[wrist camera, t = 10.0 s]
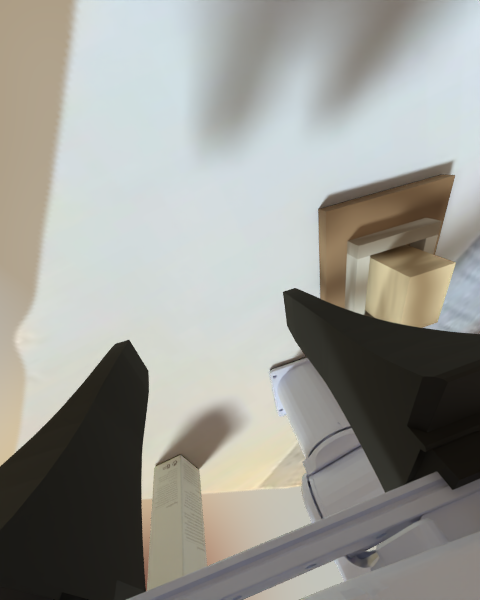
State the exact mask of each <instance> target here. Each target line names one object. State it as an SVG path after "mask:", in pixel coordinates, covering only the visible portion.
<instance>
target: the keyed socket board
mask: <svg viewBox="0 0 480 600" xmlns="http://www.w3.org/2000/svg"><path fill="white" fill-rule="evenodd" d="M454 178H455V175H439V176H435V177H431V178H428V179H424V180H421V181H417V182H414V183H410V184H407V185H403V186H399V187H396V188H392V189H389V190H385V191H382V192H378V193H374V194H371V195H367V196H364V197H360V198H357V199H353V200H349V201H346V202H342V203H339V204H335V205H332V206H328V207H325V208H321V209H318V215H319V257H320V299H322V300H324V301H326V302H329V303H331V304H334V305H336V306H339V307H342V308H344V309H347V310H350V311H353V312H356V313H359V314H362V315H366V316H369V317H373V316H372V315H371V314H369V313H368V312H367V311H366V310H365V303H366V293H367V283H368V273H369V263H370V255H373V254H377V253H380V252H383V251H386V250H390V249H393V248H396V247H399V246H403V245H409V246H411V247H414V248H417V249H420V250H422V251H425V252H428V253H431V254H433V255H435V252H436V248H437V244H438V240H439V236H440V232H441V228H442V225H443V221H444V217H445V213H446V209H447V205H448V201H449V197H450V193H451V190H452V186H453V182H454ZM373 318H375V317H373Z"/></svg>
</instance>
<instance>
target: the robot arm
mask: <svg viewBox="0 0 480 600" xmlns="http://www.w3.org/2000/svg"><path fill="white" fill-rule="evenodd" d="M283 296H284V304H285V312H286V320H287V326H288V328H289V330H290V332H291V334H292V336H293V337H294V339H295V341H296V343H297V344H298V346H299V347H300V348H301V350H302V351H303V353H304V354H305V355H306V357H307V358H304V359H301V360H298V361H295V362H292V363H289V364H287V365H284V366H281V367H278V368H275V369H272V370H271V371H270V373H269V374H270V378H271V383H272V388H273V393H274V398H275V403H276V408H277V413H278V415H279V416H284V415H286V416H287V418H288V420H289V423H290V425H291V427H292V429H293V432H294V434H295V436H296V438H297V441H298V443H299V445H300V447H301V450H302V452H303V454H304V456H305V457H306V460H304V461H303V465H304V467H305V469H306V472H307V473H305V474H304V475H303V476H302V485H301V491H302V496H303V500H304V503H305V507H306V509H307V512H308V515H309V517H310V519H311V521H312V523H311V524H308V525H306V526H304V527H301V528H299V529H296V530H294V531H291V532H289V533H286V534H284V535H282V536H279V537H277V538H275V539H272V540H270V541H267V542H265V543H262V544H260V545H257V546H255V547H253V548H250V549H248V550H245V551H243V552H241V553H238V554H236V555H233V556H231V557H228V558H226V559H224V560H221V561H219V562H216V563H214V564H211V565H209V566H207V567H204V568H202V569H199V570H197V571H194V572H192V573H190V574H187V575H185V576H182V577H180V578H177V579H175V580H173V581H170V582H168V583H165V584H163V585H160V586H158V587H156V588H153V589H151V590H148V591H146V588H145V575H144V558H143V540H142V509H141V469H142V445H143V436H144V428H145V420H146V412H147V403H148V394H149V377H148V370H147V368H146V366H145V365H144V363H143V362H142V360H141V358H140V357H139V355H138V353H137V352H136V350H135V348H134V347H133V345H132V344H131V342H130V340H127V341H124V342H120V343H117V344H115V345H114V346H113V347H112V348H111V349H110V351H109V352H108V353H107V354H106V355H105V357H104V358H103V359H102V360H101V362H100V363H99V364H98V365H97V367H96V368H95V369H94V370H93V372H92V373H91V374H90V375H89V376H88V378H87V379H86V380H85V381H84V383H83V384H82V385H81V386H80V387H79V388H78V390H77V391H76V392H75V393H74V394H73V395H72V397H71V398H70V399H69V400H68V401H67V402H66V403H65V405H64V406H63V407H62V408H61V409H60V410H59V411H58V412H57V413H56V414H55V415H54V416H53V417H52V418H51V419H50V420H49V421H48V422H47V423H46V424H45V425H44V426H43V427H42V428H41V429H40V430H39V431H38V432H37V433H36V434H35V435H34V436H33V437H32V438H31V439H30V440H29V441H28V442H27V443H26V444H25V445H23V446H22V447H21V448H20V449H19V450H18V451H17V452H16V453H15V454H14V455H12V456H11V457H10V458H9V459H8V460H7V461H6V462H5V463H4V464H3V465H1V466H0V600H243V599H246V598H248V597H250V596H253V595H255V594H257V593H260V592H262V591H264V590H266V589H269V588H271V587H273V586H276V585H278V584H280V583H283V582H285V581H287V580H290V579H292V578H294V577H296V576H299V575H301V574H303V573H306V572H308V571H310V570H313V569H315V568H317V567H320V566H322V565H324V564H326V563H329V562H331V561H333V560H334V562H335V564H336V565H337V568H338V570H339V572H340V574H341V576H342V578H343V580H344V582H342V583H340V584H337V585H334V586H332V587H329V588H327V589H324V590H322V591H319V592H316V593H314V594H311V595H309V596H307V597H305V598H302V599H299V600H480V334H469V333H458V332H448V331H440V330H433V329H426V328H419V327H413V326H408V325H403V324H398V323H393V322H389V321H384V320H380V319H377V318H373V317H369V316H366V315H362V314H359V313H356V312H353V311H350V310H347V309H344V308H342V307H339V306H336V305H334V304H331V303H329V302H326V301H324V300H322V299H319V298H317V297H315V296H313V295H310V294H308V293H306V292H304V291H301V290H299V289H296V288H294V289H291V290H288V291H284V292H283ZM383 541H384V542H383ZM381 542H382V543H381ZM379 543H380V544H379ZM378 544H379V545H378ZM376 545H377V548H376V550H372V551H366V550H368V549H370V548H372V547H374V546H376Z"/></svg>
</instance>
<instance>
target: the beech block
mask: <svg viewBox="0 0 480 600" xmlns="http://www.w3.org/2000/svg"><path fill="white" fill-rule="evenodd" d="M455 264H456V263H455V262H453V261H450V260H447V259H444V258H442V257H439V256H436V255H433V254H431V253H428V252H425V251H422V250H420V249H417V248H414V247H411V246H409V245H403V246H399V247H396V248H393V249H390V250H386V251H383V252H380V253H377V254H373V255H370V263H369V273H368V283H367V293H366V303H365V310H366V311H367V312H368V313H369V314H371V315H372V316H373V317H375V318H377V319H380V320H384V321H389V322H393V323H398V324H403V325H408V326H413V327H419V328H422V327H425V326H428V325H431V324H434V323H437V322H438V319H439V315H440V312H441V309H442V306H443V302H444V299H445V296H446V293H447V290H448V286H449V283H450V280H451V277H452V274H453V270H454V267H455Z"/></svg>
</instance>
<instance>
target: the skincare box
mask: <svg viewBox="0 0 480 600" xmlns="http://www.w3.org/2000/svg"><path fill="white" fill-rule="evenodd" d="M202 511H203V510H202V499H201V485H200V473H199V469H197V468H196V467H195V466H194V465H192V464H191V463H190V462H189V461H187V460H186V459H185V458H184V457H182V456H181V455H179V456H177V457H175V458H173V459H171V460H169V461H166V462H164V463H162V464H160V465H158V466H156V467H155V468H154V482H153V499H152V515H151V533H150V550H149V566H148V583H147V591H148V590H151V589H153V588H156V587H158V586H160V585H163V584H165V583H168V582H170V581H173V580H175V579H177V578H180V577H182V576H185V575H187V574H190V573H192V572H194V571H197V570H199V569H202V568H204V567H207V560H206V549H205V536H204V522H203V512H202Z"/></svg>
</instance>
